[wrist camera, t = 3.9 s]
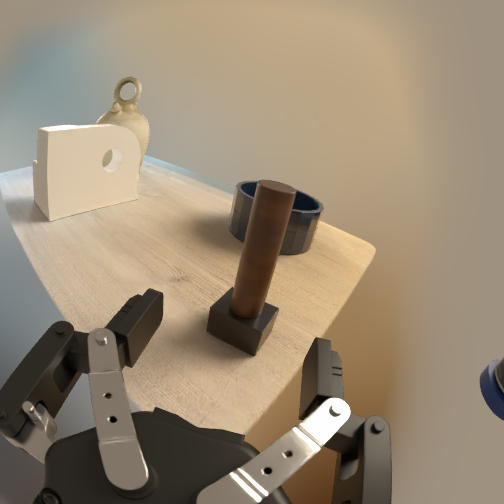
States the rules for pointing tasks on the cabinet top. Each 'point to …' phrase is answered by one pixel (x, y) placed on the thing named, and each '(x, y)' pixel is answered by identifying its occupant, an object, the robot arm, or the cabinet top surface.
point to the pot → (299, 224)
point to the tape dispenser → (84, 168)
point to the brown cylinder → (254, 272)
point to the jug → (127, 118)
